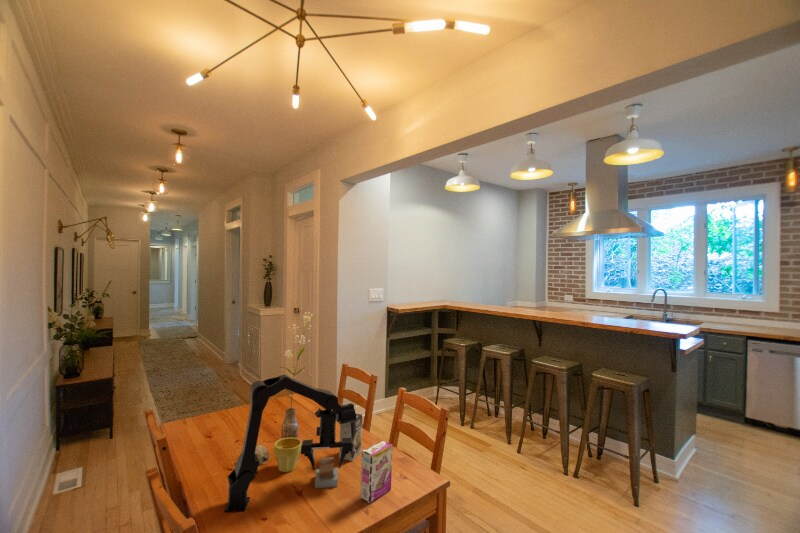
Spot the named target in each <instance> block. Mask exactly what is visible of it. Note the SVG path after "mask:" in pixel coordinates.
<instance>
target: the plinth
mask: <svg viewBox="0 0 800 533" xmlns="http://www.w3.org/2000/svg"><path fill="white" fill-rule="evenodd" d="M338 469H339V467H334V472H333V478H322V479H319V471H320V468H317V469H315V476H314V478H315V479H314V489H320V488H321V489H323V488H324V489H325V488H337V487H338V476H339V475H338V474H339V473H338Z"/></svg>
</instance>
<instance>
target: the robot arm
mask: <svg viewBox="0 0 800 533" xmlns="http://www.w3.org/2000/svg"><path fill="white" fill-rule="evenodd" d="M283 390H288V391H290V392H293V393H295V394H298V395H301V396H302V397H305V398H306V399H310V400H311V401H313V402H315V403H316V405H319V406H320V407H321V408H323V409H321V408H318V409H317V410H316V411H315V412H314V415H315V417H317V418H319V426H316V434H315V435H316V437H319V442H314V439H303V440H301V442H302V445H301V452H300V455H304V457H307V458H308V461H309V462H310V464H311V467H312V470H313V471H316V469H315V468H316V461H315V453H314V452H315V450H317V449H318V450H321V449H337V448H338V449H340V447H341V452H340V451H339V452H340V458H338V460H339V461H338V469H341V467H342V464H343V463H344V462H343V461H344V458H345V456H346V454H349V452H350V451H353V439H352V438H342V442H340V441H336V434H337V433H336V427H337V426H336V424H337V423H338V424H339V425H340V424H346V423H351V422H355V421H356V414H357V413H356V410H355V404H353V403H352V402H351V403H348V404H343V405H340V404H339V399H338V397H337V396H336V395H335V394H334V393H333V392H332V391H331V390H328V389H323V388H316V387H313V386H311V385H309V384H306V383H304V382H302V381H300V380H298V379H294V378H293V377H291V376H289V375H287V374H281V375H278V376H275V377H271V378H266V379H264V380H256V381H254V382H253V383H252V384H251V385H250V386H249V413H248V418H247V423H246V429H245V435H244V439H243V445H242V450H241V452H240V454H239V455H238V458H237V459H236V460H237V461H236V462H235V466H234V469H232V471H231V472H230V473H229V474H228V475H227V482H228V495H227V496H228V498H227V504H226V506H225V508H224V512H225V513H227V512H228V513H229V512H238V511H239V512H243V511H246V510H247V508H248V505H249V502H250V500H251V497H250V496H248V490H249V487H250V484H251V483H252V482H253V481H254V480H255V478H256V476H257V475H258V474H259V473H258V468H259V467H260V466H259V459H258V456H257V454H255V450H256V445H258V444H257V443H258V438H259V434H260V429H261V428H260V427H261V422H262V416H263V412H264V410H265V409H266V406H267V405H268V402H269V399H270V398H271V397H274V396H276V395H277V394H279V393H281V392H282V391H283ZM336 422H337V423H336Z"/></svg>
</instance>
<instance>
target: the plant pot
mask: <svg viewBox="0 0 800 533" xmlns="http://www.w3.org/2000/svg"><path fill="white" fill-rule="evenodd" d="M301 445H302V440H301V439H300V438H298V437H285V438H284V437H283V438H280V439H278V440H277V441H275V442H274V445H273V453H274V455H275V457H276V464H277V468H278V471H279V472H282V473H289V472H292V471H294V470H295V469H296V468H297V463H298V459H299V456H300V454H301Z"/></svg>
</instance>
